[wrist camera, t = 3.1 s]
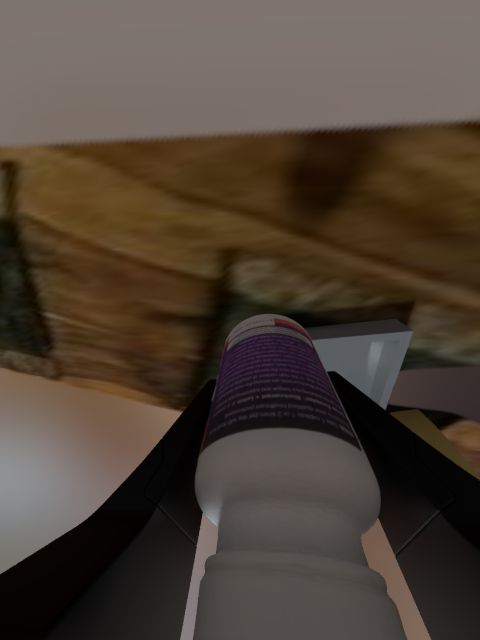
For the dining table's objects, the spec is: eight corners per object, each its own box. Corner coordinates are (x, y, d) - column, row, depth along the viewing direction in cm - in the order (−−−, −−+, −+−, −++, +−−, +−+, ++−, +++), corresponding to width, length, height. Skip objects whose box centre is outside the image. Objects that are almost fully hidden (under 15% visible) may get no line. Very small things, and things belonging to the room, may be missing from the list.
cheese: (349, 448, 34) (384, 528, 25) (347, 414, 29) (389, 497, 20) (412, 442, 32) (473, 526, 23) (421, 404, 27) (502, 492, 18)
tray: (395, 318, 20) (413, 330, 18) (369, 408, 28) (380, 424, 26) (255, 332, 22) (256, 345, 20) (266, 412, 30) (267, 428, 28)
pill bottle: (208, 334, 11) (66, 688, 3) (289, 295, 10) (555, 861, 1) (250, 388, 13) (244, 684, 5) (323, 363, 12) (505, 742, 3)
